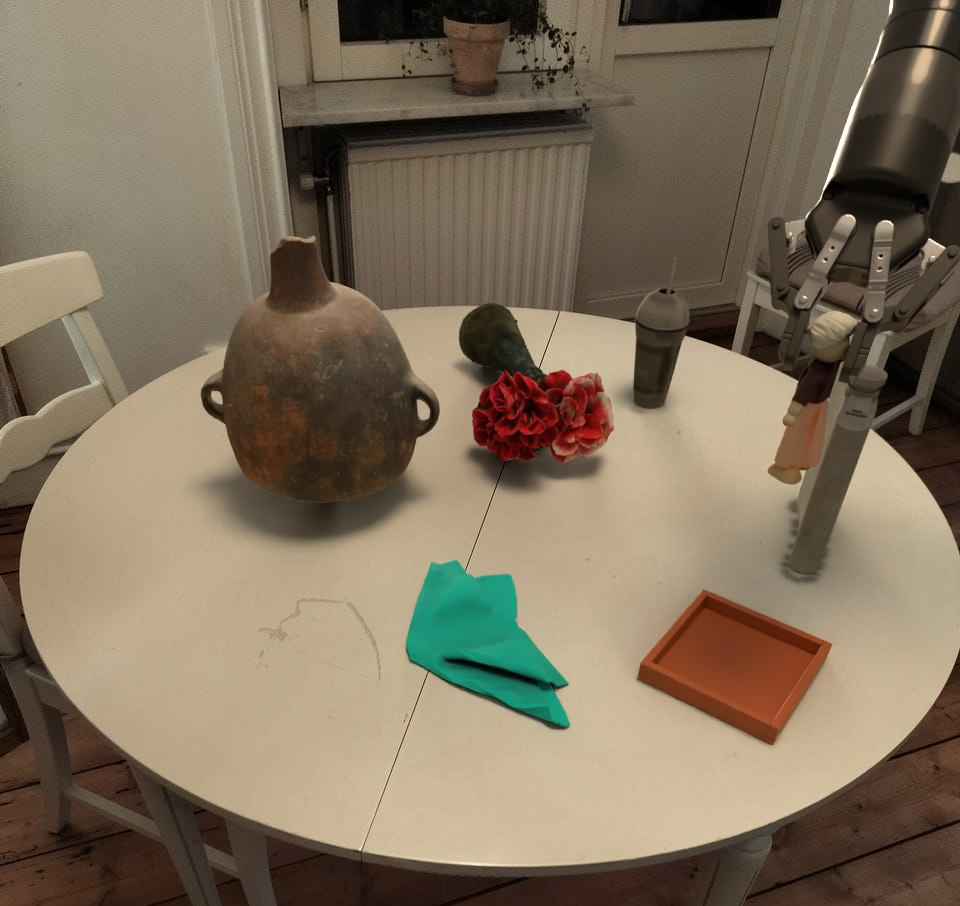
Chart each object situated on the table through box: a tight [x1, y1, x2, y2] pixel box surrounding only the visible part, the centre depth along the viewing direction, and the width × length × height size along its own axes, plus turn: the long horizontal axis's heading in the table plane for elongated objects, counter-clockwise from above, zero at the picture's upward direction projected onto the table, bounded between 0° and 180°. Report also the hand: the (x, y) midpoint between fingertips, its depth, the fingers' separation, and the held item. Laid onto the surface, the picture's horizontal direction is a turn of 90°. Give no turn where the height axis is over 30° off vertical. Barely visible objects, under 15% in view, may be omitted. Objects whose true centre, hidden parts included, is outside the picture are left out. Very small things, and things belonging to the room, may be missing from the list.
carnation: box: [458, 302, 615, 464], centre depth 113 cm, size 16×18×35 cm
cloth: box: [405, 559, 571, 728], centre depth 84 cm, size 26×14×2 cm, turn 16°
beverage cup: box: [632, 257, 691, 409], centre depth 115 cm, size 7×7×20 cm
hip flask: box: [787, 360, 889, 575], centre depth 92 cm, size 16×4×20 cm, turn 161°
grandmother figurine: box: [767, 310, 858, 486], centre depth 65 cm, size 8×4×13 cm, turn 155°
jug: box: [200, 235, 441, 504], centre depth 94 cm, size 24×21×30 cm
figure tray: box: [637, 588, 833, 745], centre depth 82 cm, size 14×14×2 cm
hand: (816, 371), depth 62 cm, fingers closed on grandmother figurine, 3 cm apart
